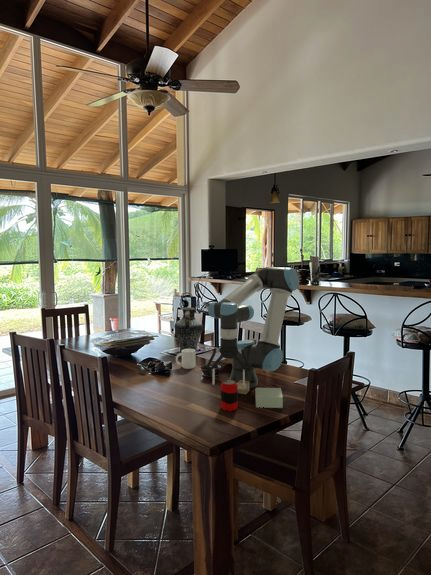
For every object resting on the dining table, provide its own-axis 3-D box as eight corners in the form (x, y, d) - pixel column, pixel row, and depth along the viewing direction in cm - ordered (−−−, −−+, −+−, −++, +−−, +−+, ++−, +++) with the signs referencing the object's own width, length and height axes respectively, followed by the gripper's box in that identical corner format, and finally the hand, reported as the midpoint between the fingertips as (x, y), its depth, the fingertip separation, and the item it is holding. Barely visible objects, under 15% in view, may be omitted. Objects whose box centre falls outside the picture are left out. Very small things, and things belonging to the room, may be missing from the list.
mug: (177, 370, 250) (176, 353, 249) (174, 366, 258) (174, 349, 257) (196, 368, 254) (196, 351, 253) (193, 364, 262) (193, 348, 260)
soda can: (224, 403, 198) (224, 378, 197) (240, 406, 195) (239, 380, 194) (218, 409, 191) (218, 383, 190) (234, 412, 188) (234, 385, 187)
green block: (255, 407, 193) (255, 396, 193) (255, 397, 205) (255, 387, 205) (282, 407, 192) (282, 397, 192) (280, 398, 204) (280, 388, 204)
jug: (174, 348, 302) (173, 306, 299) (202, 347, 304) (201, 305, 301) (175, 355, 282) (174, 311, 278) (204, 354, 284) (203, 310, 280)
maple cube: (245, 394, 210) (245, 384, 210) (236, 393, 212) (236, 383, 212) (249, 391, 215) (249, 381, 214) (239, 389, 217) (239, 380, 216)
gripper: (199, 339, 187) (200, 386, 189) (257, 339, 185) (256, 387, 187) (201, 335, 194) (202, 380, 196) (256, 336, 193) (256, 382, 195)
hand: (228, 384), depth 192 cm, fingers open, 13 cm apart
